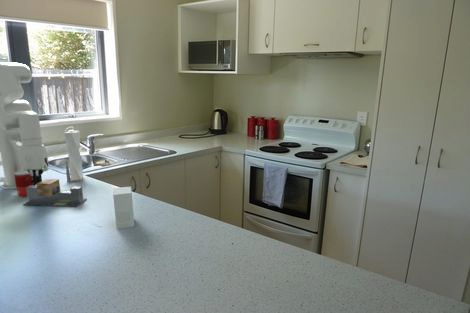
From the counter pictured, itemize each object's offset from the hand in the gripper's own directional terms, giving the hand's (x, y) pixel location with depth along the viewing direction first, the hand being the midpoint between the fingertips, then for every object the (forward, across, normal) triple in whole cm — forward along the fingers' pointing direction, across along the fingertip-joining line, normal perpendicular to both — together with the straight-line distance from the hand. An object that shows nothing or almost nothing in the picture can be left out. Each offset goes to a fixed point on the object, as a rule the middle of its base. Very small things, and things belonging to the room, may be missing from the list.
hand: (38, 184), depth 149 cm
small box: (+9, +46, -18) cm, 51 cm away
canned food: (+8, -13, +9) cm, 18 cm away
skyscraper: (+8, -3, +34) cm, 35 cm away
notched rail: (+8, +7, 0) cm, 11 cm away
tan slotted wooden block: (+4, +5, 0) cm, 6 cm away
